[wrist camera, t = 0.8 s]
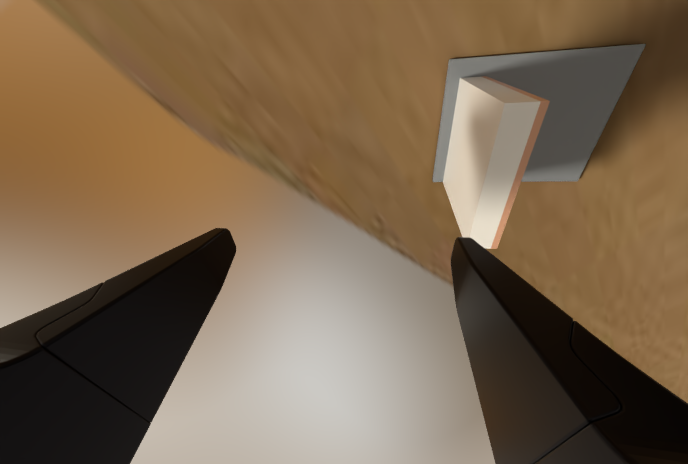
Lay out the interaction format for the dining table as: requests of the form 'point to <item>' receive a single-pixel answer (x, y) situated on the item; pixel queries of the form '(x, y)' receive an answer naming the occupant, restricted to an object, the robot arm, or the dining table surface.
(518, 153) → the tile
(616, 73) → the mat
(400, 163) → the dining table surface
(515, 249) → the dining table surface
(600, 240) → the dining table surface
